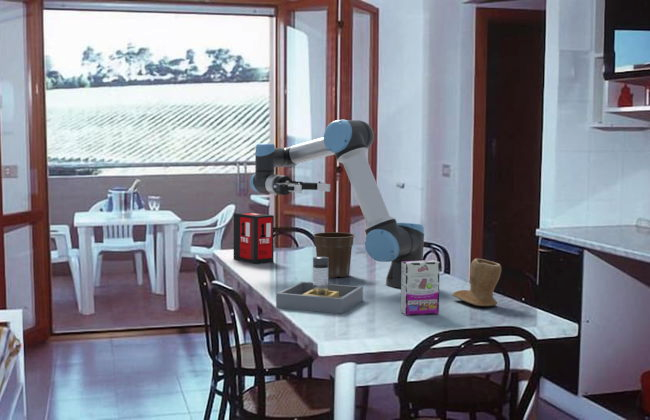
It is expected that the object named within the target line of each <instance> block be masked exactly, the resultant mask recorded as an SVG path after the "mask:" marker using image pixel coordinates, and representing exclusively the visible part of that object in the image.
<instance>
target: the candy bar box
mask: <svg viewBox="0 0 650 420" xmlns="http://www.w3.org/2000/svg"><path fill="white" fill-rule="evenodd" d="M440 263H441V262H440V261H438V260H435V259H431V260H430V259H429V260H427V259H426V260H424V259H423V260H422V261H402V263H401V288H400V292H401V293H400V313H401V314H403V315H405V316H423V315H424V316H427V315H439V313H440V271H441V270H440Z"/></svg>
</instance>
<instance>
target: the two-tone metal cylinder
mask: <svg viewBox="0 0 650 420" xmlns="http://www.w3.org/2000/svg"><path fill="white" fill-rule="evenodd" d="M312 283H313V295H323V296H328V284H329V278H328V257H317V256H314V257H312Z"/></svg>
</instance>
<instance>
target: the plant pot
mask: <svg viewBox="0 0 650 420" xmlns="http://www.w3.org/2000/svg"><path fill="white" fill-rule="evenodd" d="M312 237H313V239H314V246H315V252H316V253H315V254H316V257H328V279H337V278H338V277H339V278H347V277H348V276H349V277H350V269H351V259H352V250H353V245H354V237H356V235H355V234H354V233H351V232H339V231H338V232H337V231H336V232H335V231H334V232H331V231H329V232H316V233H313V234H312Z"/></svg>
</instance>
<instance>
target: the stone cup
mask: <svg viewBox="0 0 650 420" xmlns="http://www.w3.org/2000/svg"><path fill="white" fill-rule="evenodd" d="M501 275H502V265H501V264H500V263H498V262H495V261H491V260H487V259H483V258H474V259H473V260H472V261H471V263H470V269H469V281H470V290H469V289H467V290H466V289H460V290H457V291H454V292H453V293H452V297H454V298H456V299H459V300H460V301H463V302H465V303H468V304H470V305H473V306H477V307H493V306H497V304H498V302H497V300H496V299H495V298H494V291H495V288H496V286H497V284H498V282H499V280H500V277H501Z"/></svg>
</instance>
